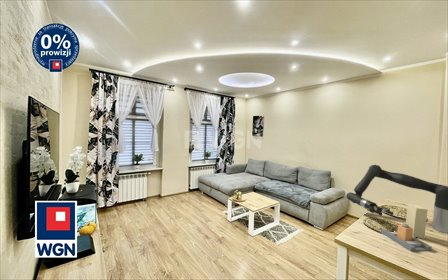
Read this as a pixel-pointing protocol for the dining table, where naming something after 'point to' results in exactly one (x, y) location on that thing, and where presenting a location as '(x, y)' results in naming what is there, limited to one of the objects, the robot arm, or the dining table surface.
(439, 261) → the dining table surface
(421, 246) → the frame
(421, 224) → the pale yellow tall block
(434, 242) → the dining table surface
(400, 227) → the orange block with knob
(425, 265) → the dining table surface
